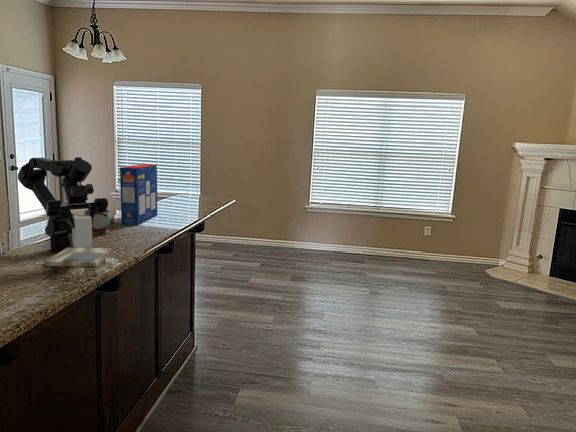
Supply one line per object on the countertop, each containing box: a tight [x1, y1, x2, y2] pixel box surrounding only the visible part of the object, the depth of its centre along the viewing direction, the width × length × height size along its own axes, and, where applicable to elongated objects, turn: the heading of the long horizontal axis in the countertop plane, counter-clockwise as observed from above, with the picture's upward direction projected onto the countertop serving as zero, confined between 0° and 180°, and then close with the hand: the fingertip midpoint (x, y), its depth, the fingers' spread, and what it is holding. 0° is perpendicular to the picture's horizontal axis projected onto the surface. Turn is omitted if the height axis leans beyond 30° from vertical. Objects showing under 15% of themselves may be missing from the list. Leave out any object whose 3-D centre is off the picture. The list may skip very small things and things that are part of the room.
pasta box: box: [119, 163, 158, 227], centre depth 216 cm, size 28×8×28 cm, turn 178°
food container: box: [83, 209, 112, 236], centre depth 187 cm, size 12×6×10 cm, turn 74°
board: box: [44, 247, 113, 267], centre depth 148 cm, size 16×18×2 cm
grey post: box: [71, 214, 93, 248], centre depth 142 cm, size 5×5×10 cm
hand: (82, 227), depth 140 cm, fingers closed on grey post, 5 cm apart
